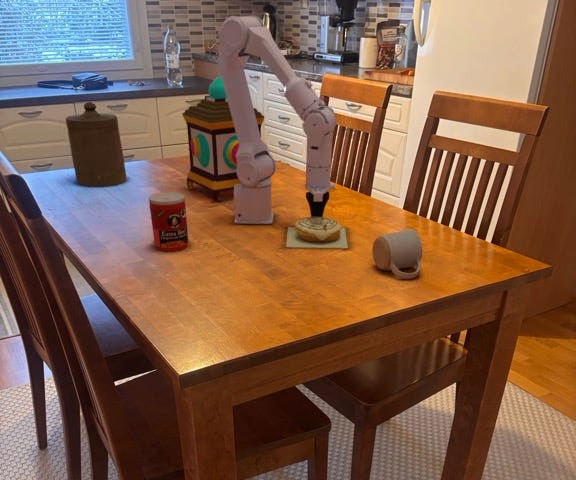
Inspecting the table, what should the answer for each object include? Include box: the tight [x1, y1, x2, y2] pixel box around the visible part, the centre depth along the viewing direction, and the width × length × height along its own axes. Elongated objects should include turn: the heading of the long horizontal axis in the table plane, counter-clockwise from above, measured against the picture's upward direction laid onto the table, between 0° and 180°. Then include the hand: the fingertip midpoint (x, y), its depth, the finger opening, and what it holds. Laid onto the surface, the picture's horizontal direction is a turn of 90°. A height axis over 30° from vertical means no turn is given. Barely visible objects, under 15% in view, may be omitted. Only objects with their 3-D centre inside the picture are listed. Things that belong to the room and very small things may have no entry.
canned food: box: [148, 191, 189, 252], centre depth 129 cm, size 8×8×11 cm
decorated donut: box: [294, 216, 342, 242], centre depth 136 cm, size 10×11×4 cm
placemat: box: [285, 226, 349, 250], centre depth 137 cm, size 14×14×1 cm
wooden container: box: [65, 101, 127, 188], centre depth 174 cm, size 15×15×22 cm
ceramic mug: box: [371, 228, 423, 280], centre depth 119 cm, size 11×8×8 cm
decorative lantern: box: [182, 76, 265, 203], centre depth 162 cm, size 20×20×30 cm
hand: (316, 223), depth 142 cm, fingers closed
